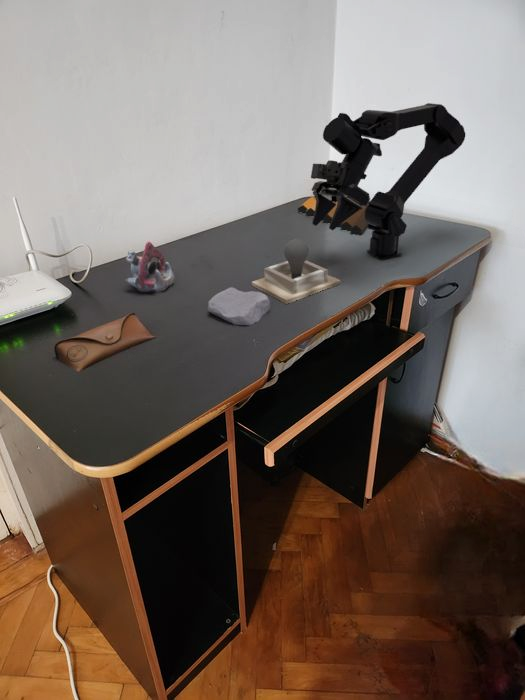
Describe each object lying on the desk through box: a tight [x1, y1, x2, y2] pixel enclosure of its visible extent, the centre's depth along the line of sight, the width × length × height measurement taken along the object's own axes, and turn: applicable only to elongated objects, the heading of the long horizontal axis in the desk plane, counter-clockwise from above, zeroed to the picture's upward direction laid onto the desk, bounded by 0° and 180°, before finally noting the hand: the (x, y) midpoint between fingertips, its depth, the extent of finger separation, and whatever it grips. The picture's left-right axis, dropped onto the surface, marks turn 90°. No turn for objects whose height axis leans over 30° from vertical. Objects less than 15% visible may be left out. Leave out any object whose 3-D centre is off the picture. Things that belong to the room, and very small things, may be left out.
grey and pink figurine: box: [124, 241, 176, 293], centre depth 126 cm, size 11×11×12 cm
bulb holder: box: [251, 259, 341, 305], centre depth 124 cm, size 16×13×4 cm
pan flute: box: [297, 196, 369, 236], centre depth 166 cm, size 25×3×25 cm
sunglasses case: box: [53, 312, 156, 372], centre depth 103 cm, size 18×7×7 cm
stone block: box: [207, 286, 271, 326], centre depth 113 cm, size 12×5×10 cm
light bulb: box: [283, 238, 309, 279], centre depth 122 cm, size 6×6×10 cm
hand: (322, 227), depth 123 cm, fingers open, 9 cm apart
